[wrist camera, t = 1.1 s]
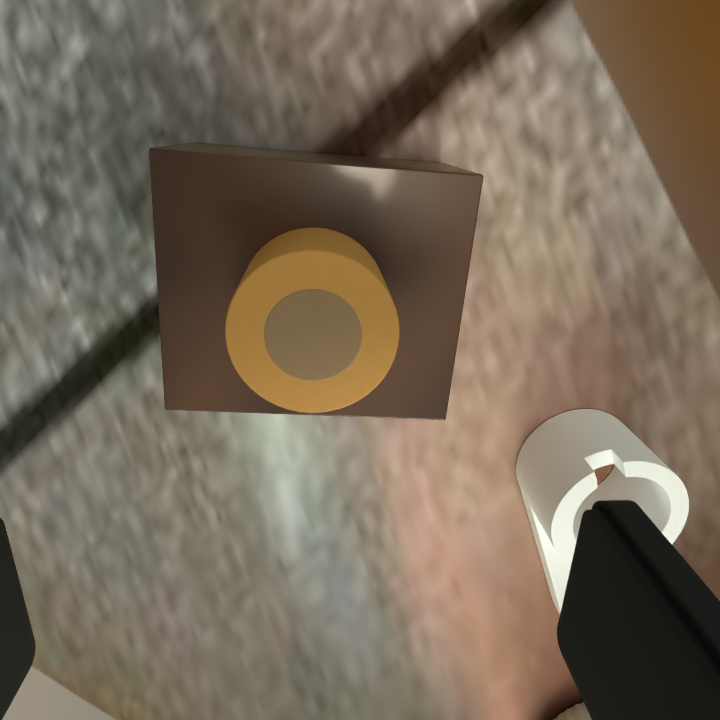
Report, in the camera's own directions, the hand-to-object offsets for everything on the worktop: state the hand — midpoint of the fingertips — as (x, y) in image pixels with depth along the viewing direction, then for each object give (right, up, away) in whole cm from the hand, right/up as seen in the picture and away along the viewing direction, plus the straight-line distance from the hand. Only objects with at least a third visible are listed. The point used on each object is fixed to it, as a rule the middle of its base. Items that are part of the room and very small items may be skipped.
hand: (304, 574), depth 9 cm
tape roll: (-1, +6, +16) cm, 18 cm away
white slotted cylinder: (+19, -9, +34) cm, 40 cm away
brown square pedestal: (-2, +10, +25) cm, 27 cm away
